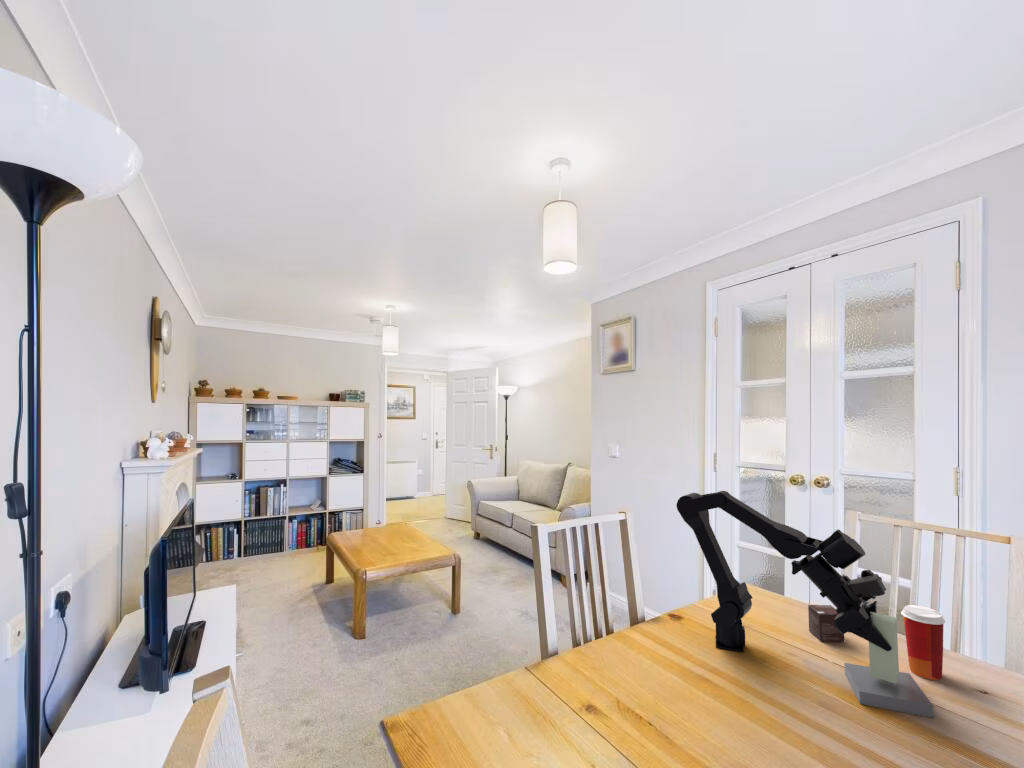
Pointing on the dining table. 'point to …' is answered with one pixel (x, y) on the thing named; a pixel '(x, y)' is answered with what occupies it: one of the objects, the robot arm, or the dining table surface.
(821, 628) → the box
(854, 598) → the robot arm
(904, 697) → the slate slab
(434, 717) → the dining table surface
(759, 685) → the dining table surface
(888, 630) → the sage block
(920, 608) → the paper cup
